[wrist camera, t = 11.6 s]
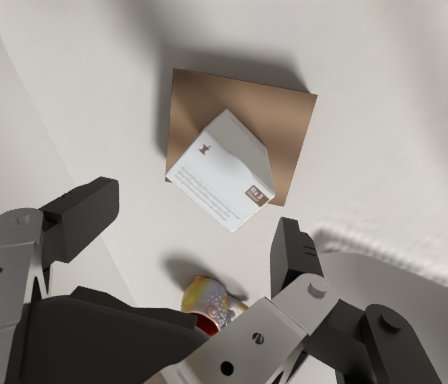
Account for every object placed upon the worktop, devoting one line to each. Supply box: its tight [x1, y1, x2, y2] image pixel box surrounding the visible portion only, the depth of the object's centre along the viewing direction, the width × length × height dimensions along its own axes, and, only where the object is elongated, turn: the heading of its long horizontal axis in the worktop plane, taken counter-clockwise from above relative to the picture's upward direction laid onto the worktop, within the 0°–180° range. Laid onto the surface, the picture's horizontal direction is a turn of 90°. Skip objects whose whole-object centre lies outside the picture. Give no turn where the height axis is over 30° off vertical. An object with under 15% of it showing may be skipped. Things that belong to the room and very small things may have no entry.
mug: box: [180, 275, 249, 338], centre depth 38 cm, size 12×7×7 cm, turn 73°
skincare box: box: [165, 109, 275, 232], centre depth 21 cm, size 6×4×12 cm
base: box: [165, 68, 318, 207], centre depth 28 cm, size 12×14×4 cm
